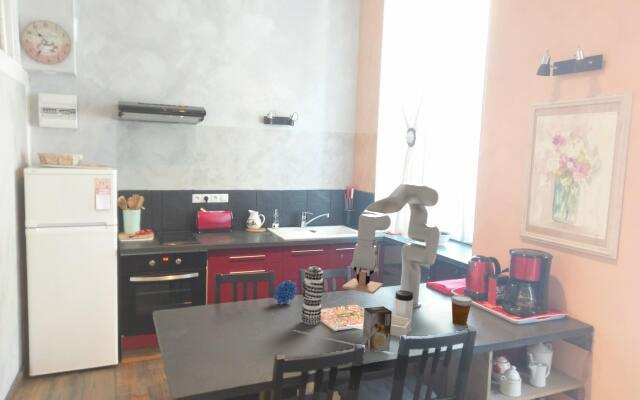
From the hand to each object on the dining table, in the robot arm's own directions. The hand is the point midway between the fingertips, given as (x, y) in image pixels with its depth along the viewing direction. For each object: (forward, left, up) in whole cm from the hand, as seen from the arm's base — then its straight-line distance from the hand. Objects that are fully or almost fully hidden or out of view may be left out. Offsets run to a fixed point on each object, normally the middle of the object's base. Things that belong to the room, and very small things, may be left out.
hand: (363, 282), depth 209 cm
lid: (0, 0, -2) cm, 2 cm away
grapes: (-6, -41, -19) cm, 46 cm away
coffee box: (+21, +13, -19) cm, 32 cm away
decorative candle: (+10, -20, -19) cm, 29 cm away
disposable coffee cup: (-27, +39, -19) cm, 52 cm away
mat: (0, -1, -19) cm, 19 cm away
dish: (0, +15, -19) cm, 25 cm away
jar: (-19, +14, -19) cm, 31 cm away
